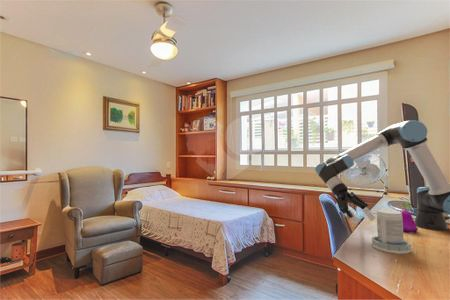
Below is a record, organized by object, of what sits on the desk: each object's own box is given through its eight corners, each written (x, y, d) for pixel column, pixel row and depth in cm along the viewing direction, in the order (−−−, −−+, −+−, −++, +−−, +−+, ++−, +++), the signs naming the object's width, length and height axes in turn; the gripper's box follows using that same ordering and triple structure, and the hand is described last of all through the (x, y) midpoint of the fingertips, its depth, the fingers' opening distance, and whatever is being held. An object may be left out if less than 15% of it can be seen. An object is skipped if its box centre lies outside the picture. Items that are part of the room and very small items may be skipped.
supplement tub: (407, 246, 107) (406, 212, 108) (397, 250, 102) (397, 214, 103) (383, 240, 115) (382, 208, 116) (373, 243, 110) (372, 210, 111)
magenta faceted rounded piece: (418, 234, 129) (418, 205, 130) (393, 231, 135) (392, 203, 136) (416, 229, 139) (415, 202, 139) (392, 226, 145) (391, 200, 145)
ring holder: (392, 242, 116) (392, 235, 117) (419, 253, 103) (418, 245, 103) (365, 243, 115) (364, 236, 115) (388, 254, 101) (388, 247, 101)
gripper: (346, 190, 141) (374, 222, 127) (317, 192, 128) (344, 229, 114) (355, 181, 136) (385, 213, 123) (326, 183, 123) (355, 220, 110)
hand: (365, 221), depth 118 cm, fingers open, 13 cm apart
